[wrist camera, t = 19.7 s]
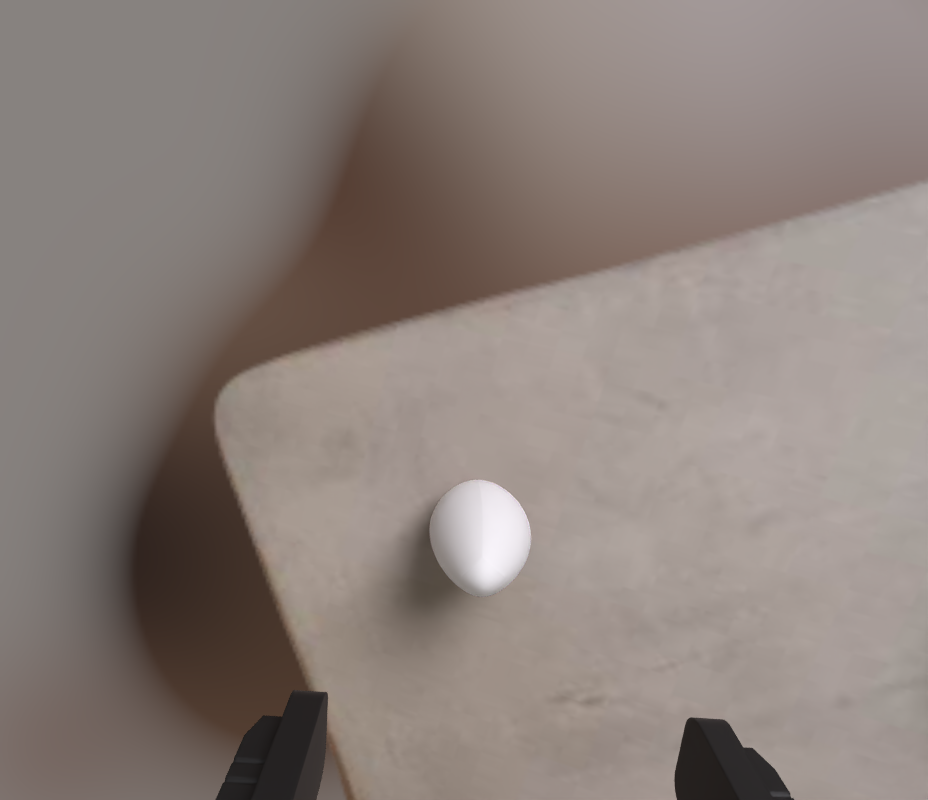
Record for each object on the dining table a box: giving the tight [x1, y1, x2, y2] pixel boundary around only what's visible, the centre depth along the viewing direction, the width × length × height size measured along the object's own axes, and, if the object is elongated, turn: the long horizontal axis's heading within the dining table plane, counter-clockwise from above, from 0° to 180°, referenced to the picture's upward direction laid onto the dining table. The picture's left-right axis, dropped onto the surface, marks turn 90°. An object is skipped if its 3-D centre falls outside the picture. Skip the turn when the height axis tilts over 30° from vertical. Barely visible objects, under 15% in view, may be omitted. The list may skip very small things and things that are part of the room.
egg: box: [429, 480, 531, 597], centre depth 21 cm, size 4×4×6 cm
